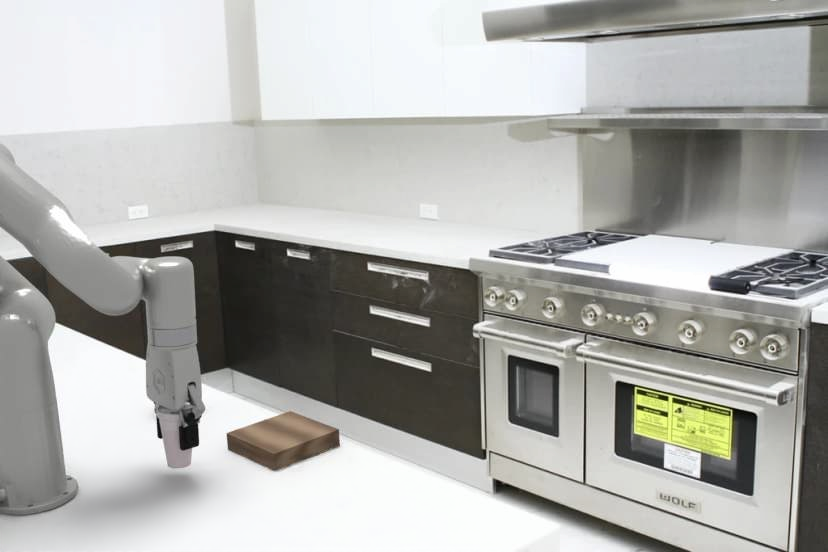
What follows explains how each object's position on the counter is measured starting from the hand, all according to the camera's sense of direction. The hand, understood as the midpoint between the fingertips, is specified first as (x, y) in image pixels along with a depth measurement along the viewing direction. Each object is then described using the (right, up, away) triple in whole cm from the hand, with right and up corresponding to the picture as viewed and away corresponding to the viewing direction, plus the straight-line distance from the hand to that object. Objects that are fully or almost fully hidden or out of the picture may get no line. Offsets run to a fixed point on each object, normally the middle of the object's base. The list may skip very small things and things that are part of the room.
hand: (178, 441), depth 145 cm
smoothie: (0, -4, +1) cm, 4 cm away
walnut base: (+15, -3, +13) cm, 20 cm away
